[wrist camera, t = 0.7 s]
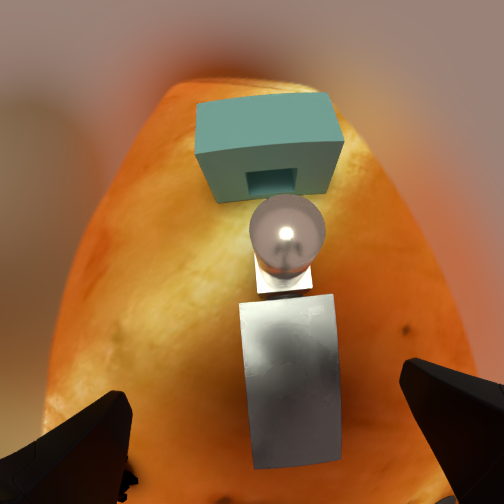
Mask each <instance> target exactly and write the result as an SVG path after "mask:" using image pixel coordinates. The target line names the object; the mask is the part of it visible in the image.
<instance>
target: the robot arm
mask: <svg viewBox="0 0 504 504" xmlns="http://www.w3.org/2000/svg"><path fill="white" fill-rule="evenodd" d="M399 383H400V387H401V389H402V391H403V393H404V396H405V398H406V400H407V402H408V405H409V407H410V409H411V412H412V414H413V416H414V418H415V420H416V422H417V424H418V426H419V427H420V429H421V431H422V433H423V434H424V436H425V438H426V440H427V442H428V443H429V445H430V447H431V449H432V451H433V453H434V454H435V456H436V458H437V460H438V462H439V464H440V466H441V468H442V470H443V472H444V474H445V476H446V478H447V480H448V482H449V484H450V486H451V488H452V490H453V492H454V494H455V496H456V498H457V500H458V503H459V504H504V385H502V384H497V383H495V382H492V381H488V380H485V379H481V378H478V377H475V376H471V375H468V374H465V373H462V372H458V371H455V370H452V369H449V368H446V367H443V366H440V365H437V364H434V363H431V362H428V361H425V360H422V359H419V358H411V359H408V360H406V361H405V362H404V364H403V368H402V371H401V375H400V379H399ZM132 416H133V413H132V409H131V406H130V404H129V402H128V399H127V397H126V395H125V393H124V392H122V391H115V390H112V391H110V392H108V393H107V394H105V395H104V396H102V397H101V398H99V399H98V400H96V401H95V402H94V403H92V404H91V405H89V406H88V407H86V408H85V409H83V410H82V411H80V412H79V413H77V414H76V415H74V416H73V417H71V418H70V419H68V420H66V421H65V422H63V423H62V424H60V425H59V426H57V427H56V428H54V429H53V430H51V431H49V432H48V433H46V434H45V435H43V436H42V437H40V438H38V439H37V440H36V441H34V442H32V443H30V444H29V445H27V446H25V447H24V448H22V449H20V450H18V451H17V452H15V453H13V454H11V455H9V456H7V457H5V458H2V459H0V504H117V499H118V494H119V489H120V484H121V480H122V475H123V471H124V467H125V463H126V458H127V454H128V447H129V438H130V431H131V424H132Z"/></svg>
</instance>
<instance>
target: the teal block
mask: <svg viewBox="0 0 504 504" xmlns="http://www.w3.org/2000/svg"><path fill="white" fill-rule="evenodd" d="M343 144H344V138H343V135H342V132H341V129H340V126H339V123H338V120H337V117H336V114H335V112H334V109H333V106H332V103H331V101H330V98H329V96H328V93H284V94H269V95H257V96H247V97H239V98H231V99H224V100H217V101H211V102H205V103H199V104H197V114H196V133H195V156H196V158H197V160H198V162H199V165H200V167H201V169H202V171H203V173H204V176H205V178H206V180H207V182H208V184H209V186H210V188H211V191H212V193H213V195H214V197H215V199H216V201H217V203H225V202H234V201H243V200H252V199H262V198H270V197H273V196H276V195H281V194H293V195H308V194H322V193H326V192H327V189H328V186H329V183H330V181H331V178H332V175H333V172H334V170H335V167H336V164H337V161H338V158H339V156H340V153H341V150H342V147H343Z"/></svg>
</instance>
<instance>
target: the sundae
mask: <svg viewBox="0 0 504 504" xmlns="http://www.w3.org/2000/svg"><path fill="white" fill-rule="evenodd" d="M455 501H456V498H455V497H454V496H449V497H446V498H444V499H442V500H440V501H439V502H437V503H436V504H455Z"/></svg>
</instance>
